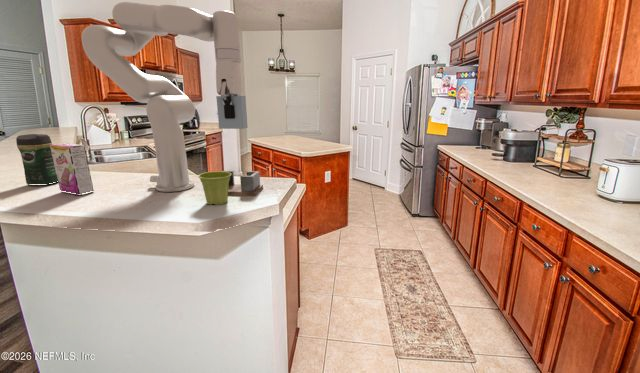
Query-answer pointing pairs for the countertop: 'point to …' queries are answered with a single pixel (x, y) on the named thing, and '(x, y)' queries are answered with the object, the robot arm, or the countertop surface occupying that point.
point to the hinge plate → (237, 191)
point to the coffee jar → (37, 158)
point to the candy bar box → (72, 167)
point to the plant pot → (215, 186)
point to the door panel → (240, 114)
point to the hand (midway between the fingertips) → (232, 117)
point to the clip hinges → (247, 180)
